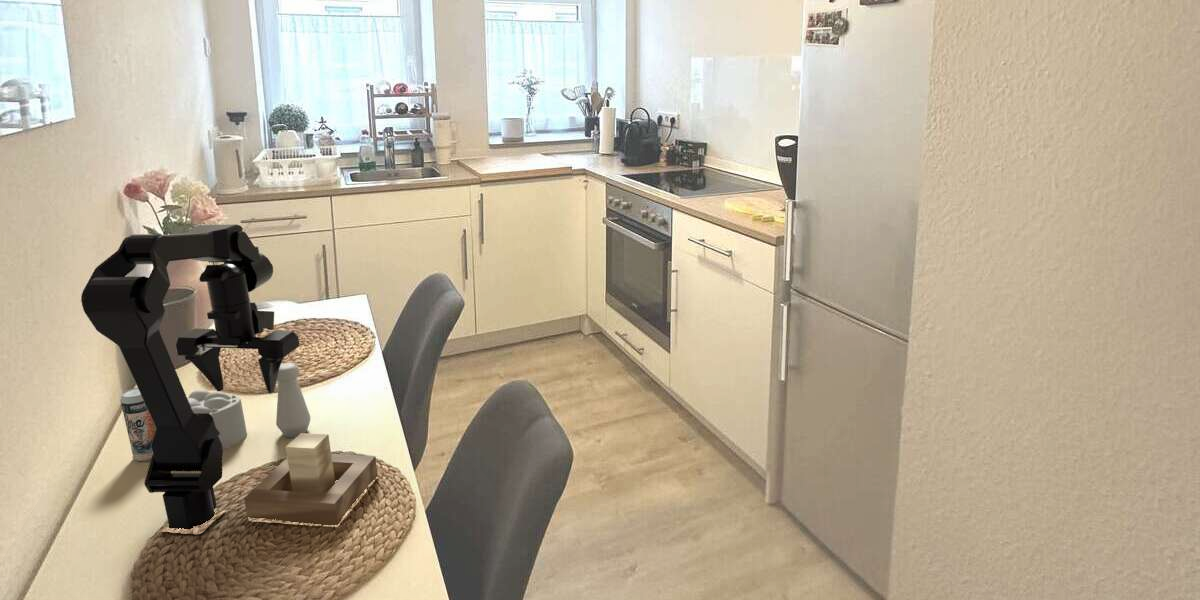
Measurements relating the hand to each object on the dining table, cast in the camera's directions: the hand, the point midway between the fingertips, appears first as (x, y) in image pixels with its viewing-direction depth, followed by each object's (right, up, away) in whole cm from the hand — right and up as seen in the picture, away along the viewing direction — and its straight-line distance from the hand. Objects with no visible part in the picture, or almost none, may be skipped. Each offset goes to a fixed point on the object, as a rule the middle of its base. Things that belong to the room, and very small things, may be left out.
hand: (246, 391), depth 133 cm
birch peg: (+15, -15, -10) cm, 24 cm away
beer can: (-19, -12, +5) cm, 23 cm away
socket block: (+15, -15, -10) cm, 24 cm away
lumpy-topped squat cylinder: (-11, -10, +9) cm, 18 cm away
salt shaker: (+4, -9, +12) cm, 15 cm away
